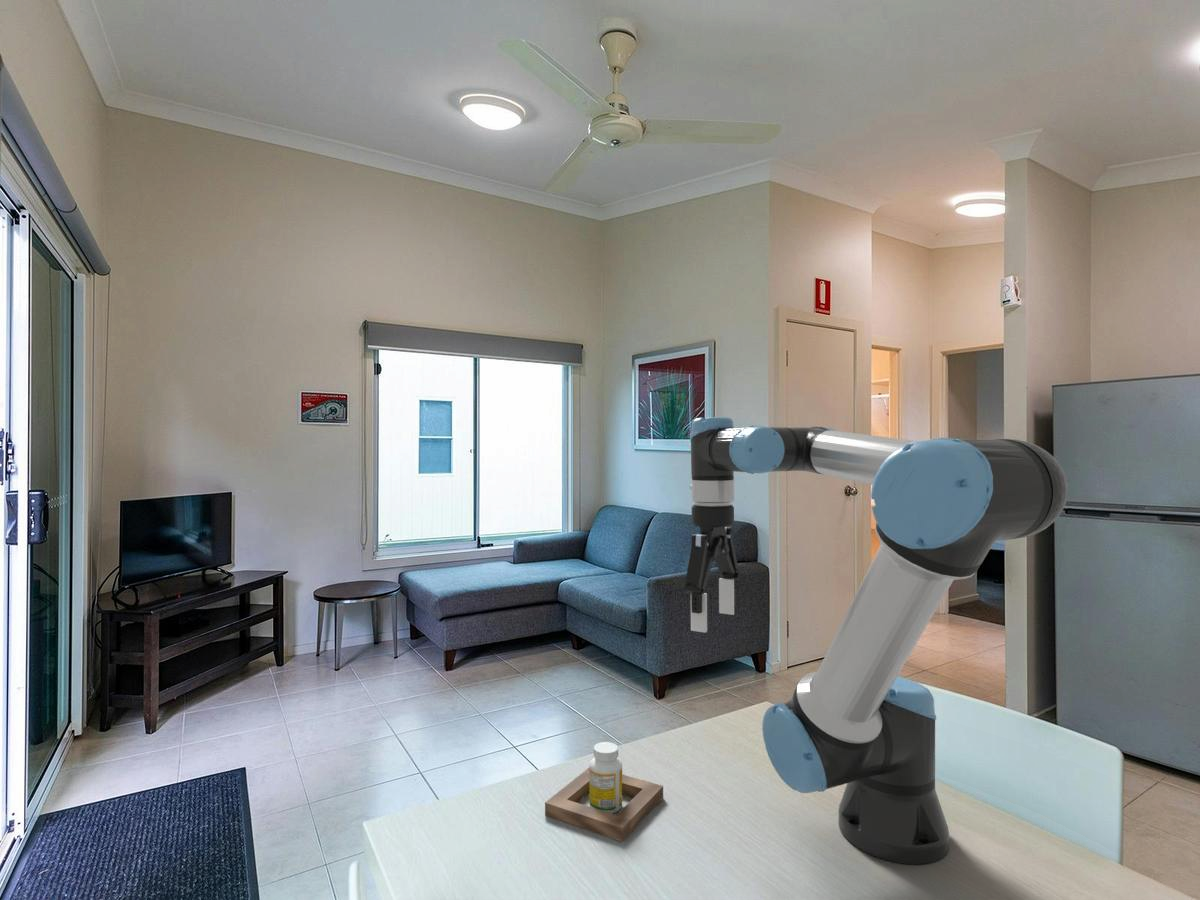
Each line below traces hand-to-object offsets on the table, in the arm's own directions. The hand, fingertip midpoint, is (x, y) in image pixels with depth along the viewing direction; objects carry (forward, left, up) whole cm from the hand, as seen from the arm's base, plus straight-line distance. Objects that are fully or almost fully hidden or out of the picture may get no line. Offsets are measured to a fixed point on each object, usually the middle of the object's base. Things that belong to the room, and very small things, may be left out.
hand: (713, 622), depth 119 cm
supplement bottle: (+11, +20, -27) cm, 35 cm away
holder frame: (+11, +20, -27) cm, 35 cm away
